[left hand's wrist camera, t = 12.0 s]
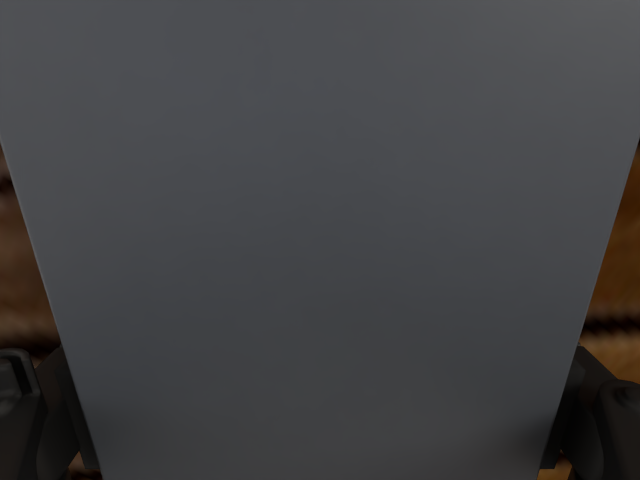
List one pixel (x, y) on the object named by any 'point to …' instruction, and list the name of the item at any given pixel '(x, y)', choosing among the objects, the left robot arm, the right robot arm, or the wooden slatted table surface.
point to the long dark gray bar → (319, 223)
